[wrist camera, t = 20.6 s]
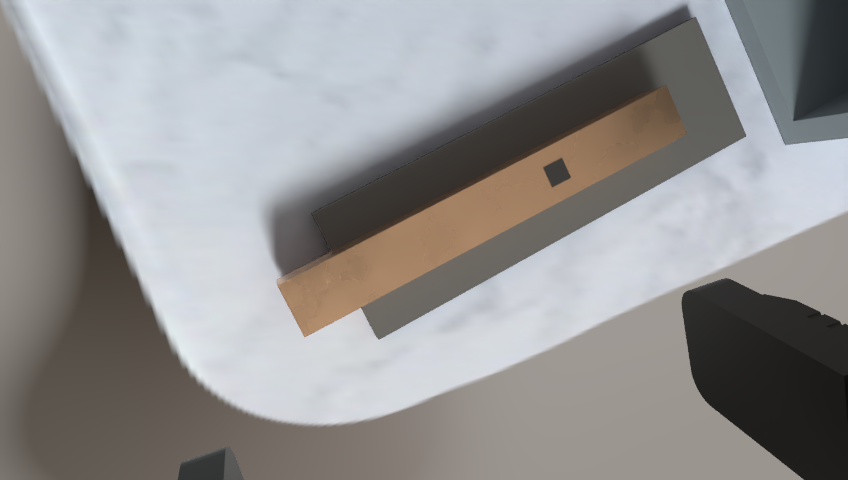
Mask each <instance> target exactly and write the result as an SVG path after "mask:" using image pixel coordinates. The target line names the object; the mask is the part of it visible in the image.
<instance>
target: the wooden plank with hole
mask: <svg viewBox="0 0 848 480" xmlns="http://www.w3.org/2000/svg"><path fill="white" fill-rule="evenodd" d="M685 135H687V132H686V130H685V127H684V125H683V123H682V120H681V118H680V116H679V113H678V111H677V109H676V106H675V104H674V102H673V99H672V97H671V95H670V92H669V90H668V88H667V85H666V86H663V87H660V88H656V89H653V90H649V91H646V92H643V93H640V94H638V95H636V96H634V97H632V98H630V99H628V100H626V101H624V102H622V103H620V104H618V105H616V106H614V107H612V108H610V109H608V110H606V111H604V112H602V113H601V114H599V115H597V116H595V117H593V118H591V119H589V120H587V121H585V122H583V123H581V124H579V125H577V126H575V127H573V128H571V129H569V130H567V131H565V132H563V133H562V134H560V135H558V136H556V137H554V138H552V139H550V140H548V141H546V142H544V143H542V144H540V145H538V146H536V147H534V148H532V149H530V150H528V151H526V152H524V153H523V154H521V155H519V156H517V157H515V158H513V159H511V160H509V161H507V162H505V163H503V164H501V165H499V166H497V167H495V168H493V169H491V170H489V171H487V172H485V173H484V174H482V175H480V176H478V177H476V178H474V179H472V180H470V181H468V182H466V183H464V184H462V185H460V186H458V187H456V188H454V189H452V190H450V191H448V192H446V193H445V194H443V195H441V196H439V197H437V198H435V199H433V200H431V201H429V202H427V203H425V204H423V205H421V206H419V207H417V208H415V209H413V210H411V211H409V212H407V213H406V214H404V215H402V216H400V217H398V218H396V219H394V220H392V221H390V222H388V223H386V224H384V225H382V226H380V227H378V228H376V229H374V230H372V231H370V232H368V233H367V234H365V235H363V236H361V237H359V238H357V239H355V240H353V241H351V242H349V243H347V244H345V245H343V246H341V247H339V248H337V249H335V250H333V251H331V252H329V253H328V254H326V255H324V256H322V257H320V258H318V259H316V260H314V261H312V262H310V263H308V264H306V265H304V266H302V267H300V268H298V269H296V270H294V271H292V272H290V273H289V274H287V275H285V276H283V277H281V278H279V279H277V286H278V288H279V290H280V291H281V293H282V295H283V297H284V299H285V301H286V303H287V305H288V307H289V308H290V310H291V312H292V314H293V316H294V318H295V320H296V322H297V324H298V325H299V327H300V329H301V331H302V333H303V335H304V337H306V336H308V335H310V334H312V333H314V332H316V331H318V330H319V329H321V328H323V327H325V326H327V325H329V324H331V323H333V322H335V321H336V320H338V319H340V318H342V317H344V316H346V315H348V314H350V313H351V312H353V311H355V310H357V309H359V308H361V307H363V306H365V305H367V304H368V303H370V302H372V301H374V300H376V299H378V298H380V297H382V296H383V295H385V294H387V293H389V292H391V291H393V290H395V289H397V288H399V287H400V286H402V285H404V284H406V283H408V282H410V281H412V280H414V279H416V278H417V277H419V276H421V275H423V274H425V273H427V272H429V271H431V270H432V269H434V268H436V267H438V266H440V265H442V264H444V263H446V262H448V261H449V260H451V259H453V258H455V257H457V256H459V255H461V254H463V253H464V252H466V251H468V250H470V249H472V248H474V247H476V246H478V245H480V244H481V243H483V242H485V241H487V240H489V239H491V238H493V237H495V236H496V235H498V234H500V233H502V232H504V231H506V230H508V229H510V228H512V227H513V226H515V225H517V224H519V223H521V222H523V221H525V220H527V219H529V218H530V217H532V216H534V215H536V214H538V213H540V212H542V211H544V210H545V209H547V208H549V207H551V206H553V205H555V204H557V203H559V202H561V201H562V200H564V199H566V198H568V197H570V196H572V195H574V194H576V193H577V192H579V191H581V190H583V189H585V188H587V187H589V186H591V185H593V184H594V183H596V182H598V181H600V180H602V179H604V178H606V177H608V176H609V175H611V174H613V173H615V172H617V171H619V170H621V169H623V168H625V167H626V166H628V165H630V164H632V163H634V162H636V161H638V160H640V159H641V158H643V157H645V156H647V155H649V154H651V153H653V152H655V151H657V150H658V149H660V148H662V147H664V146H666V145H668V144H670V143H672V142H674V141H675V140H677V139H679V138H681V137H683V136H685Z"/></svg>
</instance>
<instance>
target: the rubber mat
mask: <svg viewBox="0 0 848 480" xmlns="http://www.w3.org/2000/svg"><path fill="white" fill-rule="evenodd" d="M666 85H667V88H668V90H669V92H670V95H671V97H672V99H673V102H674V104H675V106H676V109H677V111H678V113H679V116H680V118H681V120H682V123H683V125H684V127H685V130H686V132H687V135H685V136H683V137H681V138H679V139H677V140H675V141H674V142H672V143H670V144H668V145H666V146H664V147H662V148H660V149H658V150H657V151H655V152H653V153H651V154H649V155H647V156H645V157H643V158H641V159H640V160H638V161H636V162H634V163H632V164H630V165H628V166H626V167H625V168H623V169H621V170H619V171H617V172H615V173H613V174H611V175H609V176H608V177H606V178H604V179H602V180H600V181H598V182H596V183H594V184H593V185H591V186H589V187H587V188H585V189H583V190H581V191H579V192H577V193H576V194H574V195H572V196H570V197H568V198H566V199H564V200H562V201H561V202H559V203H557V204H555V205H553V206H551V207H549V208H547V209H545V210H544V211H542V212H540V213H538V214H536V215H534V216H532V217H530V218H529V219H527V220H525V221H523V222H521V223H519V224H517V225H515V226H513V227H512V228H510V229H508V230H506V231H504V232H502V233H500V234H498V235H496V236H495V237H493V238H491V239H489V240H487V241H485V242H483V243H481V244H480V245H478V246H476V247H474V248H472V249H470V250H468V251H466V252H464V253H463V254H461V255H459V256H457V257H455V258H453V259H451V260H449V261H448V262H446V263H444V264H442V265H440V266H438V267H436V268H434V269H432V270H431V271H429V272H427V273H425V274H423V275H421V276H419V277H417V278H416V279H414V280H412V281H410V282H408V283H406V284H404V285H402V286H400V287H399V288H397V289H395V290H393V291H391V292H389V293H387V294H385V295H383V296H382V297H380V298H378V299H376V300H374V301H372V302H370V303H368V304H367V305H365V306H363V307H361V308H362V310H363V312H364V314H365V316H366V318H367V320H368V322H369V324H370V326H371V327H372V329H373V331H374V333H375V335H376V337H377V338H378V339H381V338H383V337H385V336H387V335H388V334H390V333H392V332H394V331H396V330H397V329H399V328H401V327H403V326H405V325H406V324H408V323H410V322H412V321H414V320H415V319H417V318H419V317H421V316H423V315H424V314H426V313H428V312H430V311H432V310H433V309H435V308H437V307H439V306H441V305H443V304H444V303H446V302H448V301H450V300H452V299H453V298H455V297H457V296H459V295H461V294H462V293H464V292H466V291H468V290H470V289H471V288H473V287H475V286H477V285H479V284H480V283H482V282H484V281H486V280H488V279H489V278H491V277H493V276H495V275H497V274H498V273H500V272H502V271H504V270H506V269H507V268H509V267H511V266H513V265H515V264H517V263H518V262H520V261H522V260H524V259H526V258H527V257H529V256H531V255H533V254H535V253H536V252H538V251H540V250H542V249H544V248H545V247H547V246H549V245H551V244H553V243H554V242H556V241H558V240H560V239H562V238H563V237H565V236H567V235H569V234H571V233H572V232H574V231H576V230H578V229H580V228H581V227H583V226H585V225H587V224H589V223H590V222H592V221H594V220H596V219H598V218H600V217H601V216H603V215H605V214H607V213H609V212H610V211H612V210H614V209H616V208H618V207H619V206H621V205H623V204H625V203H627V202H628V201H630V200H632V199H634V198H636V197H637V196H639V195H641V194H643V193H645V192H646V191H648V190H650V189H652V188H654V187H655V186H657V185H659V184H661V183H663V182H664V181H666V180H668V179H670V178H672V177H673V176H675V175H677V174H679V173H681V172H683V171H684V170H686V169H688V168H690V167H692V166H693V165H695V164H697V163H699V162H701V161H702V160H704V159H706V158H708V157H710V156H711V155H713V154H715V153H717V152H719V151H720V150H722V149H724V148H726V147H728V146H729V145H731V144H733V143H735V142H737V141H738V140H740V139H742V138H744V137H746V134H745V132H744V129H743V127H742V124H741V122H740V120H739V117H738V115H737V113H736V110H735V108H734V106H733V103H732V101H731V99H730V96H729V94H728V91H727V89H726V87H725V84H724V82H723V80H722V77H721V75H720V73H719V70H718V68H717V66H716V63H715V61H714V59H713V56H712V54H711V51H710V49H709V47H708V44H707V42H706V40H705V37H704V35H703V33H702V30H701V28H700V26H699V23H698V21H697V18H696V17H695V18H692V19H690V20H688V21H686V22H684V23H682V24H680V25H678V26H676V27H674V28H672V29H670V30H668V31H666V32H664V33H662V34H660V35H658V36H656V37H654V38H652V39H651V40H649V41H647V42H645V43H643V44H641V45H639V46H637V47H635V48H633V49H631V50H629V51H627V52H625V53H623V54H621V55H619V56H617V57H615V58H613V59H612V60H610V61H608V62H606V63H604V64H602V65H600V66H598V67H596V68H594V69H592V70H590V71H588V72H586V73H584V74H582V75H580V76H578V77H576V78H574V79H573V80H571V81H569V82H567V83H565V84H563V85H561V86H559V87H557V88H555V89H553V90H551V91H549V92H547V93H545V94H543V95H541V96H539V97H537V98H536V99H534V100H532V101H530V102H528V103H526V104H524V105H522V106H520V107H518V108H516V109H514V110H512V111H510V112H508V113H506V114H504V115H502V116H500V117H498V118H497V119H495V120H493V121H491V122H489V123H487V124H485V125H483V126H481V127H479V128H477V129H475V130H473V131H471V132H469V133H467V134H465V135H463V136H461V137H459V138H458V139H456V140H454V141H452V142H450V143H448V144H446V145H444V146H442V147H440V148H438V149H436V150H434V151H432V152H430V153H428V154H426V155H424V156H422V157H420V158H419V159H417V160H415V161H413V162H411V163H409V164H407V165H405V166H403V167H401V168H399V169H397V170H395V171H393V172H391V173H389V174H387V175H385V176H383V177H382V178H380V179H378V180H376V181H374V182H372V183H370V184H368V185H366V186H364V187H362V188H360V189H358V190H356V191H354V192H352V193H350V194H348V195H346V196H344V197H343V198H341V199H339V200H337V201H335V202H333V203H331V204H329V205H327V206H325V207H323V208H321V209H319V210H317V211H315V212H313V213H312V215H313V217H314V219H315V221H316V223H317V225H318V227H319V229H320V231H321V232H322V234H323V236H324V238H325V240H326V242H327V244H328V246H329V248H330V250H331V251H333V250H335V249H337V248H339V247H341V246H343V245H345V244H347V243H349V242H351V241H353V240H355V239H357V238H359V237H361V236H363V235H365V234H367V233H368V232H370V231H372V230H374V229H376V228H378V227H380V226H382V225H384V224H386V223H388V222H390V221H392V220H394V219H396V218H398V217H400V216H402V215H404V214H406V213H407V212H409V211H411V210H413V209H415V208H417V207H419V206H421V205H423V204H425V203H427V202H429V201H431V200H433V199H435V198H437V197H439V196H441V195H443V194H445V193H446V192H448V191H450V190H452V189H454V188H456V187H458V186H460V185H462V184H464V183H466V182H468V181H470V180H472V179H474V178H476V177H478V176H480V175H482V174H484V173H485V172H487V171H489V170H491V169H493V168H495V167H497V166H499V165H501V164H503V163H505V162H507V161H509V160H511V159H513V158H515V157H517V156H519V155H521V154H523V153H524V152H526V151H528V150H530V149H532V148H534V147H536V146H538V145H540V144H542V143H544V142H546V141H548V140H550V139H552V138H554V137H556V136H558V135H560V134H562V133H563V132H565V131H567V130H569V129H571V128H573V127H575V126H577V125H579V124H581V123H583V122H585V121H587V120H589V119H591V118H593V117H595V116H597V115H599V114H601V113H602V112H604V111H606V110H608V109H610V108H612V107H614V106H616V105H618V104H620V103H622V102H624V101H626V100H628V99H630V98H632V97H634V96H636V95H638V94H640V93H643V92H646V91H649V90H653V89H656V88H660V87H663V86H666Z"/></svg>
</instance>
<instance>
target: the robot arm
mask: <svg viewBox="0 0 848 480" xmlns="http://www.w3.org/2000/svg"><path fill="white" fill-rule="evenodd" d="M682 312H683V318H684V325H685V332H686V339H687V345H688V352H689V359H690V366H691V372H692V376H693V379H694V382H695V384H696V386H697V388H698V390H699V392H700V394H701V395H702V397H703V398H704V399H705V401H706V402H707V403H708V404H709V405H710V406H712V407H713V408H714V409H715V410H716V411H718V412H719V413H720V414H722V415H723V416H724V417H725V418H727V419H728V420H729V421H730V422H732V423H733V424H734V425H735V426H737V427H738V428H739V429H741V430H742V431H743V432H744V433H746V434H747V435H748V436H749V437H751V438H752V439H753V440H754V441H756V442H757V443H758V444H760V445H761V446H762V447H764V448H765V449H766V450H767V451H768V452H770V453H771V454H772V455H773V456H775V457H776V458H777V459H779V460H780V461H781V462H782V463H784V464H785V465H786V466H787V467H789V468H790V469H791V470H793V471H794V472H795V473H796V474H798V475H799V476H800V477H801V478H803V479H804V480H848V325H847V324H844V325H842V324H841V323H840V321H838V320H836V319H834V318H832V317H830V316H827V315H825V314H824V315H821V313H820V312H819V311H817V310H815V309H813V308H811V307H809V306H806V305H804V304H802V303H800V302H798V301H795V300H791V299H786V298H781V297H775V296H770V295H766V294H764V295H761V294H759V293H757V292H755V291H753V290H751V289H749V288H747V287H745V286H743V285H741V284H739V283H737V282H735V281H733V280H731V279H727V278H725V279H721V280H718V281H715V282H712V283H709V284H706V285H703V286H700V287H698V288H695V289H692V290H689V291H687V292H685V293H684V294H683V297H682ZM178 480H244V479H243V476H242V474H241V471H240V469H239V466H238V463H237V461H236V458H235V456H234V454H233V452H232V450H231V449H230V448H229V447H225V448H221V449H218V450H215V451H213V452H210V453H207V454H204V455H201V456H198V457H195V458H192V459H189V460H186V461H183V462H182V463H181V466H180V471H179V477H178Z"/></svg>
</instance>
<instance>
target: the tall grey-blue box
mask: <svg viewBox="0 0 848 480" xmlns="http://www.w3.org/2000/svg"><path fill="white" fill-rule="evenodd" d="M725 1H726V4H727V6H728V9H729V11H730V13H731V16H732V18H733V21H734V23H735V25H736V28H737V30H738V33H739V35H740V37H741V40H742V42H743V45H744V47H745V49H746V52H747V54H748V57H749V59H750V61H751V64H752V66H753V68H754V71H755V73H756V76H757V78H758V80H759V83H760V85H761V88H762V90H763V92H764V95H765V97H766V100H767V102H768V104H769V107H770V109H771V112H772V114H773V116H774V119H775V121H776V124H777V126H778V128H779V131H780V133H781V136H782V138H783V140H784V143H785V145H789V144H798V143H807V142H816V141H825V140H833V139H842V138H848V0H725Z"/></svg>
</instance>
